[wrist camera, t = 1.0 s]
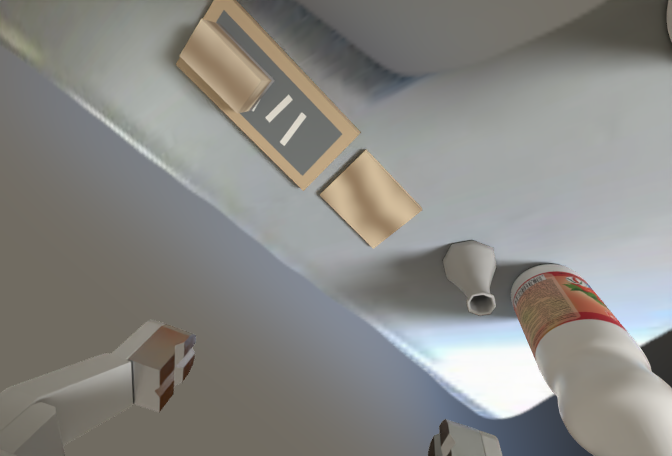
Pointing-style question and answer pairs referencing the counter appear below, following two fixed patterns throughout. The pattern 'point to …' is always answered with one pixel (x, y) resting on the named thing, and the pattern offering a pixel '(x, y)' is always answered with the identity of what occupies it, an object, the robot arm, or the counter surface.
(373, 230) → the pad
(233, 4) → the chalkboard
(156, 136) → the counter surface
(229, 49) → the block
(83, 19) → the counter surface
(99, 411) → the robot arm
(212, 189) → the counter surface
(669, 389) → the fruit juice
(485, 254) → the flask
